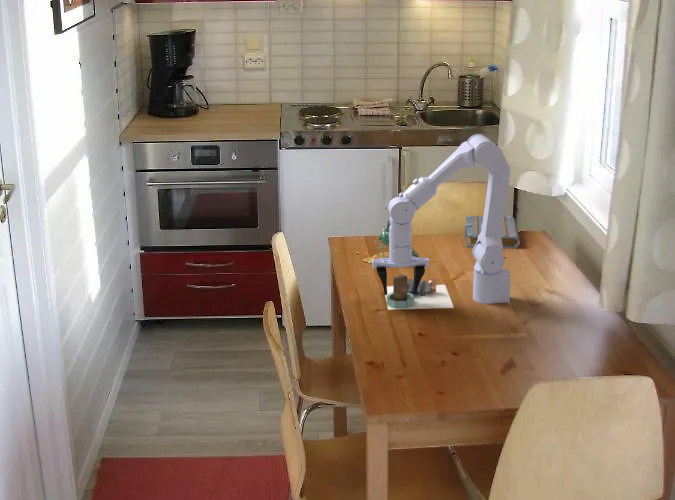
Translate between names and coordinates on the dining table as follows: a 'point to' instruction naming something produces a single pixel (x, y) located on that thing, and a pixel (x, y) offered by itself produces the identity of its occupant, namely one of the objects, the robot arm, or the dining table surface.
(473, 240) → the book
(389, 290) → the board
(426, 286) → the grey ball-ended lever
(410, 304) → the socket
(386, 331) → the dining table surface
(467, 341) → the dining table surface
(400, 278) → the pin
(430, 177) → the robot arm
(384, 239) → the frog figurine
